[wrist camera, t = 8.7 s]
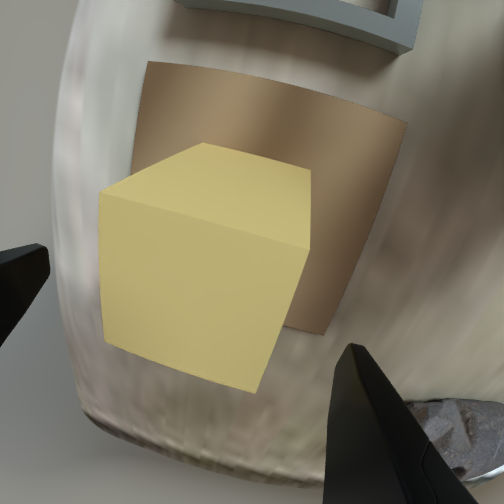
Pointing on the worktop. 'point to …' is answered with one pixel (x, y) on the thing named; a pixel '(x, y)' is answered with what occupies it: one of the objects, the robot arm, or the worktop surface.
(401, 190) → the worktop surface
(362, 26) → the hinged window frame
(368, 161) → the walnut board
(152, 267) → the block
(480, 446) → the perforated stone tool
